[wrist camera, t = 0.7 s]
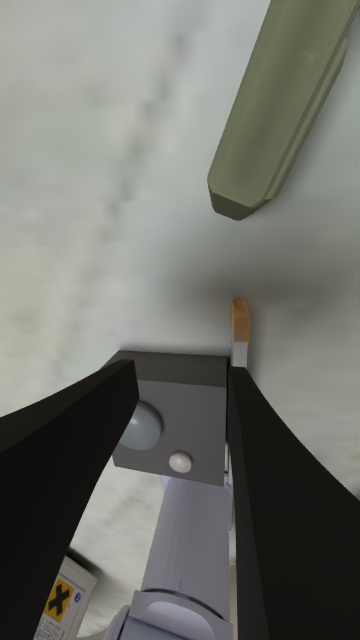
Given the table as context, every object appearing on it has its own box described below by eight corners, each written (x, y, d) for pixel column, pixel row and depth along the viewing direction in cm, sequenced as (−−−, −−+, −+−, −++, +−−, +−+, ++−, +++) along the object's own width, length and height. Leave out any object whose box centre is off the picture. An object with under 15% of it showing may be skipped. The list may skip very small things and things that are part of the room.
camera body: (224, 443, 21) (223, 497, 16) (132, 430, 23) (110, 474, 18) (226, 356, 17) (226, 395, 13) (118, 350, 19) (86, 382, 15)
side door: (236, 447, 20) (239, 492, 17) (227, 445, 20) (227, 490, 17) (244, 299, 15) (250, 318, 11) (232, 299, 15) (233, 317, 12)
